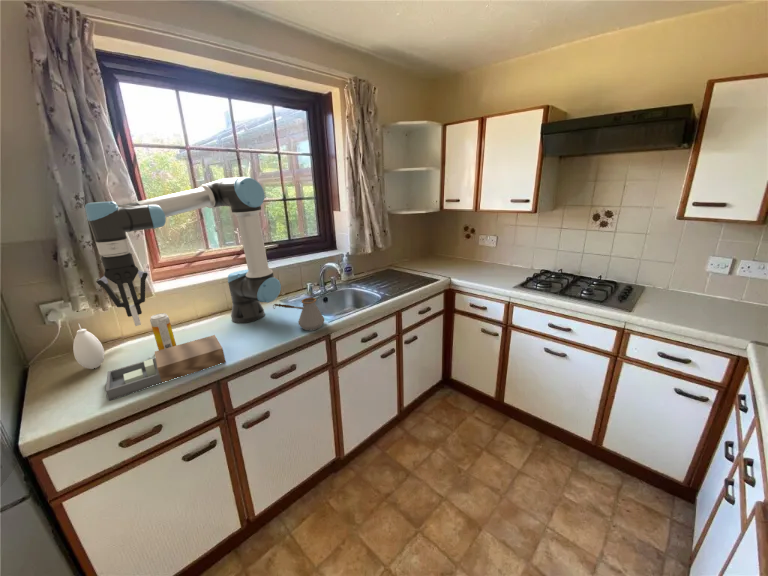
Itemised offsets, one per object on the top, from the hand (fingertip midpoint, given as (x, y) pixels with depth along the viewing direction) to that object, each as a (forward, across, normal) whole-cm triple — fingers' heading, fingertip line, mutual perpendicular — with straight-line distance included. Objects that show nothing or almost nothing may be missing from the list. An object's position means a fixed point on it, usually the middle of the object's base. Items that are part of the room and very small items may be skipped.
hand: (138, 324), depth 108 cm
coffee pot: (+21, +55, 0) cm, 59 cm away
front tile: (+17, -5, 0) cm, 18 cm away
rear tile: (+17, +1, 0) cm, 17 cm away
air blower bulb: (+20, -17, +22) cm, 34 cm away
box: (+20, -5, 0) cm, 21 cm away
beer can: (+20, +6, +19) cm, 28 cm away
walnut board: (+20, +12, 0) cm, 23 cm away
